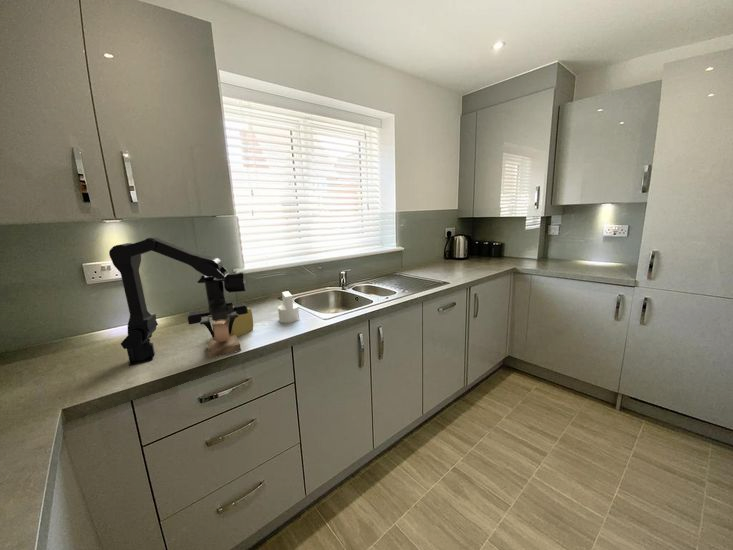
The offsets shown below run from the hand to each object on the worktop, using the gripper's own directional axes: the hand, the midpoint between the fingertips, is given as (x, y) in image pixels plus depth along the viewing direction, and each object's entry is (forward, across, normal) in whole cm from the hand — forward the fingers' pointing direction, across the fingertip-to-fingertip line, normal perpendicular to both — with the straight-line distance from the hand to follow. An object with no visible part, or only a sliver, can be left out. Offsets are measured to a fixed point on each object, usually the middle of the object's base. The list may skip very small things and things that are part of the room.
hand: (221, 335), depth 107 cm
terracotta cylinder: (+1, 0, 0) cm, 1 cm away
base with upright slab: (+6, +29, +16) cm, 34 cm away
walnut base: (+5, 0, 0) cm, 5 cm away
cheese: (+6, +6, +14) cm, 16 cm away
